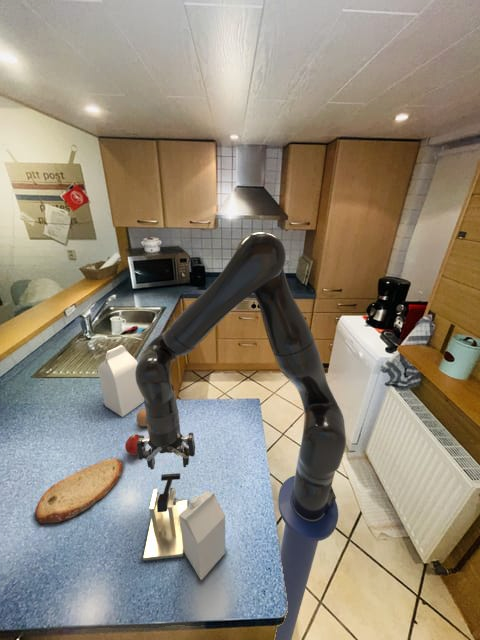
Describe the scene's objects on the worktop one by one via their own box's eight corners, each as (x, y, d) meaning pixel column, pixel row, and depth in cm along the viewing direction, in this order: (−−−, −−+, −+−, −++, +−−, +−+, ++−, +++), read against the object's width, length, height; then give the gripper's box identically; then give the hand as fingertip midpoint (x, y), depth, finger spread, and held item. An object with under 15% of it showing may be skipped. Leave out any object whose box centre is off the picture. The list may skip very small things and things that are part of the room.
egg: (154, 426, 93) (151, 412, 90) (138, 432, 91) (136, 417, 88) (151, 416, 98) (149, 403, 95) (137, 421, 95) (134, 407, 93)
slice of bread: (127, 461, 80) (125, 453, 79) (96, 526, 64) (93, 518, 62) (72, 459, 81) (69, 451, 79) (27, 523, 64) (22, 515, 63)
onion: (124, 452, 83) (120, 435, 80) (140, 442, 87) (137, 425, 84) (131, 464, 80) (127, 446, 76) (148, 452, 84) (145, 435, 80)
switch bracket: (154, 505, 69) (148, 474, 64) (187, 502, 70) (184, 471, 65) (143, 560, 58) (135, 529, 53) (182, 556, 59) (178, 525, 54)
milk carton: (225, 553, 60) (225, 504, 52) (201, 581, 55) (196, 532, 47) (207, 527, 64) (204, 480, 57) (183, 551, 60) (176, 503, 52)
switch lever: (162, 480, 70) (162, 471, 70) (180, 478, 70) (180, 470, 70) (151, 513, 58) (150, 502, 58) (173, 511, 58) (172, 500, 58)
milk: (122, 417, 97) (109, 360, 87) (104, 405, 103) (90, 351, 92) (147, 399, 107) (138, 346, 96) (130, 389, 112) (120, 338, 101)
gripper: (193, 408, 65) (196, 451, 72) (137, 410, 64) (145, 454, 70) (191, 431, 58) (194, 477, 65) (128, 435, 57) (138, 481, 64)
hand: (169, 465), depth 68 cm, fingers open, 8 cm apart
